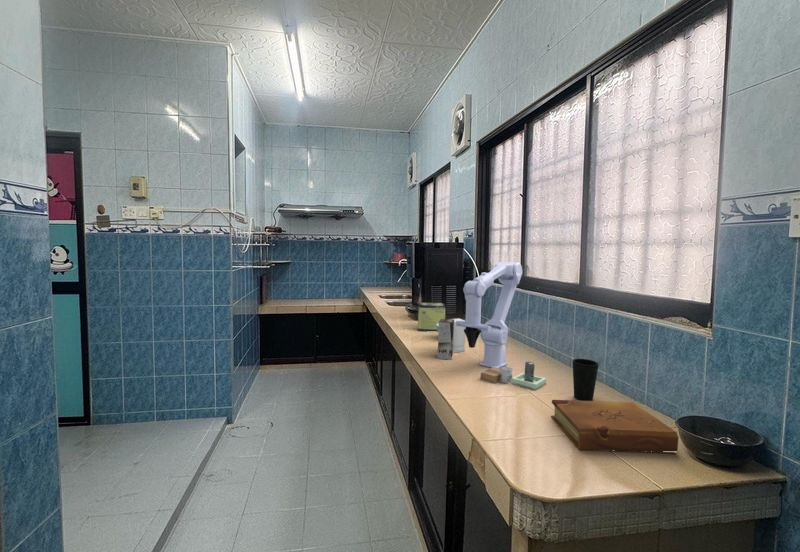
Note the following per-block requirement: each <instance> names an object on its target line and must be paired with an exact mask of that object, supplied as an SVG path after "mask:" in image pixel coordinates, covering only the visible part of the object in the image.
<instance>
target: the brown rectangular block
mask: <svg viewBox="0 0 800 552" xmlns="http://www.w3.org/2000/svg"><path fill="white" fill-rule="evenodd" d="M499 371H500V368H494V367H493V368H492V367H490V368H488V369H486V370H483V371H481V372H480V380H482V381H485V382H488V383H493V384H497V383H500V382H499Z"/></svg>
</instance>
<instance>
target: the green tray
mask: <svg viewBox="0 0 800 552" xmlns="http://www.w3.org/2000/svg"><path fill="white" fill-rule="evenodd" d="M524 374H525V372H520V373H519V374H517V375H515V376H512V378H511V382H510V383H511V385H515V386H519V387H522V388H526V389H530V390H534V391H537V390H539V389H540V388H542V387H544V386H545V385H546V384H547V378H546V377H542V376H538V375H534V381H533V383H532V382H528V381H524Z"/></svg>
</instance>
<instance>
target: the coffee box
mask: <svg viewBox="0 0 800 552" xmlns="http://www.w3.org/2000/svg"><path fill="white" fill-rule="evenodd" d="M452 319H453V318H450V319H449V318H445V319H440V321H439V333H437V336H438V337H437V338H438V339H437V359H440V360H449V361H450V360H452V359H453V356H454V353H453V341H454V320H452Z"/></svg>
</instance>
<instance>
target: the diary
mask: <svg viewBox="0 0 800 552" xmlns="http://www.w3.org/2000/svg"><path fill="white" fill-rule="evenodd" d="M551 404H552V405H553V406H554V414H553V415H550V417H551V419H552V420H553V421H554V423H556V425H557V426H558V427H559V429H560V430H561V431H562V432H563V433H564V434H565V436H566V435H567V436H566V438H567V439H569V441H571V443H572V442H573V443H574V444H573V443H572V444H573V445H574V447H576V449H577V448H578V449H579V450H578V449H577V450H578V451H595V450H610V451H609V452H613V451H612V450H615V451H614V452H622V451H647V452H646V453H648V452H651V451H652V452H663V451H677V452H678V449H679V448H678V447H679V446H678V445H679V435H678V431H675V429H673V428H672V427H670V426H668V425H667V424H665V423H664V422H662V421H661V420H660V419H659V418H657V417H655V416H654V415H652V414H651V413H650V412H648V411H647V410H645V409H644V408H643V407H641V406H640V405H638V404H636V403H635V402H631V401H607V400H606V401H604V400H603V401H600V400H599V401H597V400H592V401H581V400H577V399H575V400H573V399H572V400H570V399H551Z"/></svg>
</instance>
